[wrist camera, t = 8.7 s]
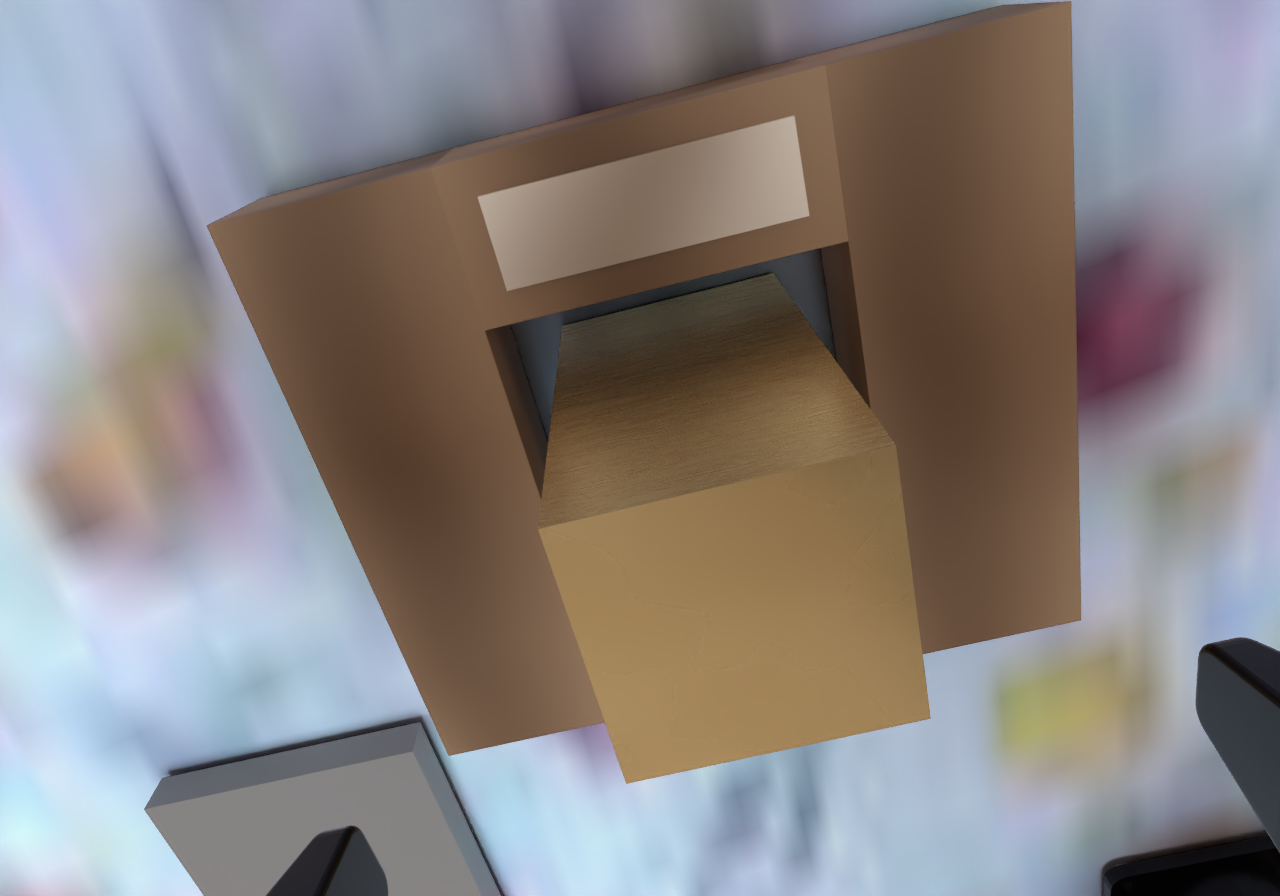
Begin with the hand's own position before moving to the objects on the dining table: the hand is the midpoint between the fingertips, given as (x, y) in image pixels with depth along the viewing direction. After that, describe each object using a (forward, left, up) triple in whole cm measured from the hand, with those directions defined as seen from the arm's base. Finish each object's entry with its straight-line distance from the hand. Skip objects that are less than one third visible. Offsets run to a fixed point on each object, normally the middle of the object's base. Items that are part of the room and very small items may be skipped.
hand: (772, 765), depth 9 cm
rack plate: (0, 0, -10) cm, 10 cm away
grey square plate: (+12, +11, -10) cm, 19 cm away
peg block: (0, 0, -10) cm, 10 cm away
